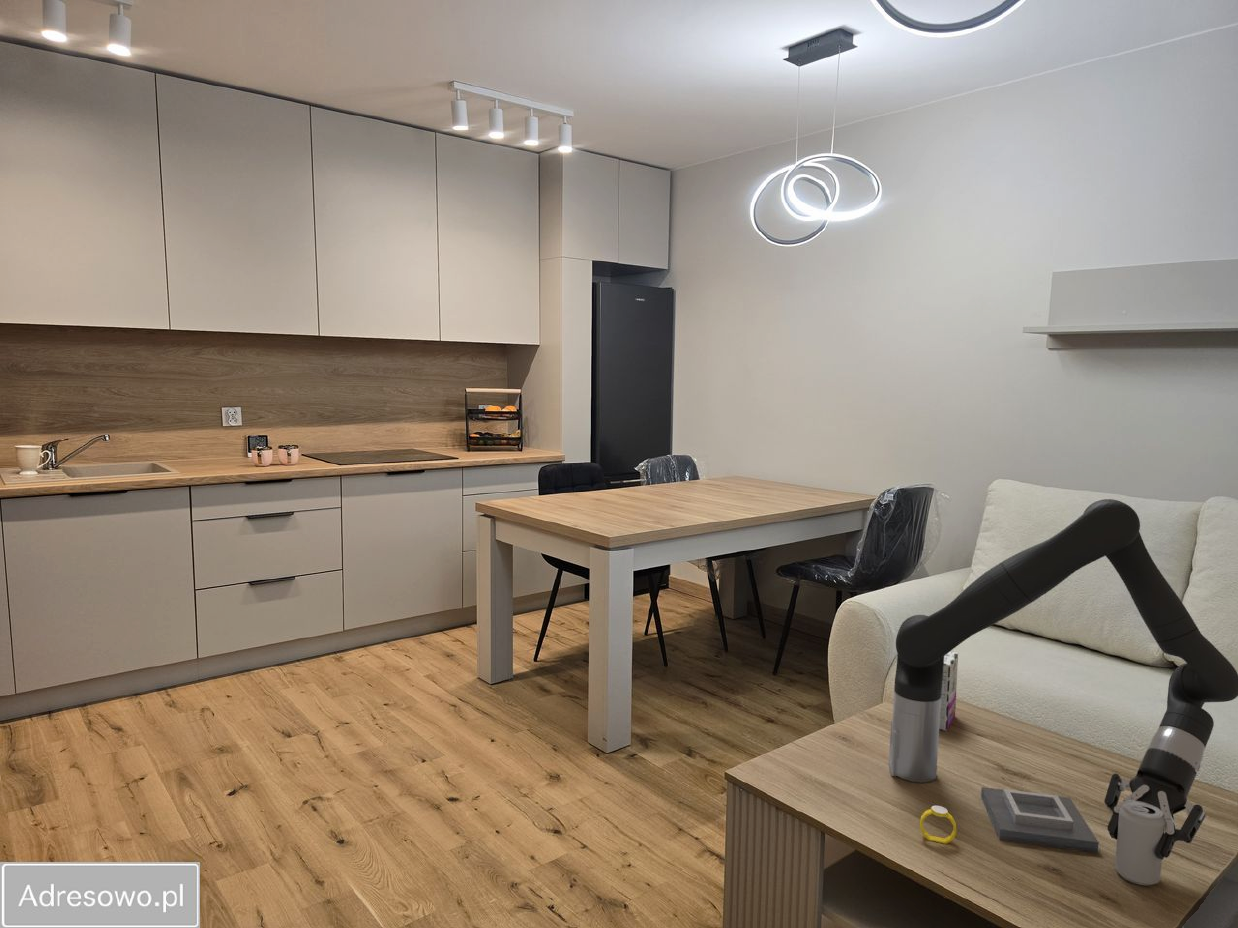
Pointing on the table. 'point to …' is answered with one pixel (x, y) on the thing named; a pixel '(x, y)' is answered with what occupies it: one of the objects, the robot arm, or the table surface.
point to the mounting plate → (1038, 819)
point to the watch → (941, 813)
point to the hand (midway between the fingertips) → (1135, 846)
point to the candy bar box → (948, 690)
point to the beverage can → (1139, 842)
